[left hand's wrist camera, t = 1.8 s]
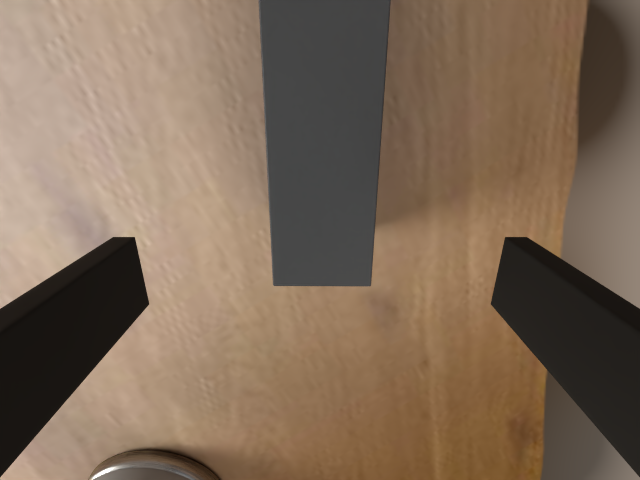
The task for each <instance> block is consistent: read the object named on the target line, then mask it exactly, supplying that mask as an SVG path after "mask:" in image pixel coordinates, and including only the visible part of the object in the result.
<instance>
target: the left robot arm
mask: <svg viewBox="0 0 640 480" xmlns="http://www.w3.org/2000/svg"><path fill="white" fill-rule="evenodd" d="M148 305H149V301H148V296H147V292H146V287H145V282H144V278H143V273H142V268H141V264H140V259H139V255H138V250H137V245H136V241H135V237H113V238H111V239H110V240H108V241H106V242H105V243H103V244H102V245H100V246H99V247H97V248H95V249H94V250H92V251H91V252H89V253H87V254H86V255H84V256H83V257H81V258H80V259H78V260H76V261H75V262H73V263H72V264H70V265H69V266H67V267H65V268H64V269H62V270H61V271H59V272H58V273H56V274H54V275H53V276H51V277H50V278H48V279H47V280H45V281H43V282H42V283H40V284H39V285H37V286H36V287H34V288H32V289H31V290H29V291H28V292H26V293H25V294H23V295H21V296H20V297H18V298H17V299H15V300H14V301H12V302H10V303H9V304H7V305H6V306H4V307H3V308H1V309H0V477H1V476H2V475H3V473H4V472H5V471H6V470H7V469H8V468H9V466H10V465H11V464H12V463H13V462H14V461H15V459H16V458H17V457H18V456H19V455H20V454H21V452H22V451H23V450H24V449H25V448H26V447H27V445H28V444H29V443H30V442H31V441H32V440H33V439H34V437H35V436H36V435H37V434H38V433H39V432H40V430H41V429H42V428H43V427H44V426H45V425H46V423H47V422H48V421H49V420H50V419H51V418H52V416H53V415H54V414H55V413H56V412H57V411H58V409H59V408H60V407H61V406H62V405H63V404H64V403H65V401H66V400H67V399H68V398H69V397H70V396H71V394H72V393H73V392H74V391H75V390H76V389H77V387H78V386H79V385H80V384H81V383H82V382H83V380H84V379H85V378H86V377H87V376H88V375H89V373H90V372H91V371H92V370H93V369H94V368H95V367H96V365H97V364H98V363H99V362H100V361H101V360H102V358H103V357H104V356H105V355H106V354H107V353H108V351H109V350H110V349H111V348H112V347H113V346H114V344H115V343H116V342H117V341H118V340H119V339H120V337H121V336H122V335H123V334H124V333H125V332H126V331H127V329H128V328H129V327H130V326H131V325H132V324H133V322H134V321H135V320H136V319H137V318H138V317H139V315H140V314H141V313H142V312H143V311H144V310H145V308H146V307H147V306H148ZM491 305H492V306H493V307H494V308H495V310H496V311H497V312H498V313H499V314H500V315H501V317H502V318H503V319H504V320H505V321H506V322H507V324H508V325H509V326H510V327H511V328H512V329H513V331H514V332H515V333H516V334H517V335H518V336H519V337H520V339H521V340H522V341H523V342H524V343H525V344H526V346H527V347H528V348H529V349H530V350H531V351H532V353H533V354H534V355H535V356H536V357H537V358H538V360H539V361H540V362H541V363H542V364H543V365H544V367H545V368H546V369H547V370H548V371H549V372H550V373H551V375H552V376H553V377H554V378H555V379H556V380H557V382H558V383H559V384H560V385H561V386H562V387H563V389H564V390H565V391H566V392H567V393H568V394H569V396H570V397H571V398H572V399H573V400H574V401H575V402H576V404H577V405H578V406H579V407H580V408H581V409H582V411H583V412H584V413H585V414H586V415H587V416H588V418H589V419H590V420H591V421H592V422H593V423H594V425H595V426H596V427H597V428H598V429H599V430H600V432H601V433H602V434H603V435H604V436H605V437H606V438H607V440H608V441H609V442H610V443H611V444H612V445H613V447H614V448H615V449H616V450H617V451H618V452H619V454H620V455H621V456H622V457H623V458H624V459H625V461H626V462H627V463H628V464H629V465H630V466H631V468H632V469H633V470H634V471H635V472H636V473H637V475H638V476H639V477H640V309H639V308H637V307H636V306H634V305H633V304H631V303H630V302H628V301H626V300H625V299H623V298H622V297H620V296H619V295H617V294H615V293H614V292H612V291H611V290H609V289H608V288H606V287H604V286H603V285H601V284H600V283H598V282H597V281H595V280H593V279H592V278H590V277H589V276H587V275H585V274H584V273H582V272H581V271H579V270H578V269H576V268H574V267H573V266H571V265H570V264H568V263H567V262H565V261H563V260H562V259H560V258H559V257H557V256H556V255H554V254H553V253H551V252H549V251H548V250H546V249H545V248H543V247H541V246H540V245H538V244H537V243H535V242H534V241H532V240H530V239H529V238H527V237H505V241H504V245H503V250H502V255H501V259H500V264H499V268H498V273H497V278H496V282H495V287H494V292H493V296H492V301H491ZM88 480H219V479H218V477H217V476H216V475H215V474H213V473H212V472H211V471H210V470H209V469H207V468H206V467H204V466H203V465H201V464H199V463H197V462H195V461H193V460H191V459H189V458H186V457H183V456H180V455H177V454H173V453H168V452H162V451H152V450H142V451H131V452H126V453H122V454H119V455H116V456H113V457H111V458H109V459H107V460H105V461H104V462H102V463H101V464H100V465H98V466H97V467H96V469H95V470H94V471H93V472H92V474H91V475H90V477H89V479H88Z"/></svg>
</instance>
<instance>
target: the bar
mask: <svg viewBox="0 0 640 480" xmlns="http://www.w3.org/2000/svg"><path fill="white" fill-rule="evenodd" d="M390 2H391V0H259V15H260V35H261V55H262V74H263V94H264V114H265V134H266V153H267V173H268V193H269V213H270V232H271V252H272V272H273V285H274V286H371V277H372V262H373V248H374V233H375V219H376V204H377V190H378V175H379V161H380V146H381V132H382V118H383V103H384V89H385V74H386V60H387V45H388V31H389V16H390Z"/></svg>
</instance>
